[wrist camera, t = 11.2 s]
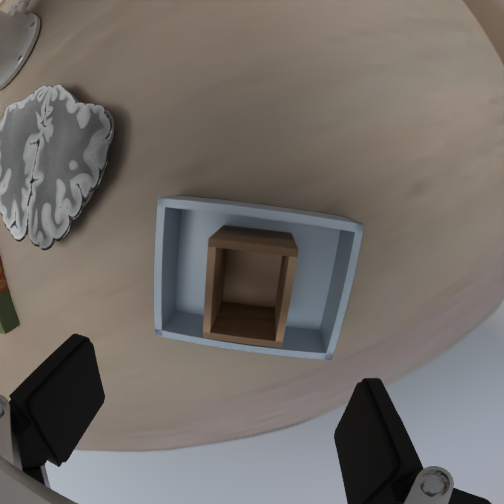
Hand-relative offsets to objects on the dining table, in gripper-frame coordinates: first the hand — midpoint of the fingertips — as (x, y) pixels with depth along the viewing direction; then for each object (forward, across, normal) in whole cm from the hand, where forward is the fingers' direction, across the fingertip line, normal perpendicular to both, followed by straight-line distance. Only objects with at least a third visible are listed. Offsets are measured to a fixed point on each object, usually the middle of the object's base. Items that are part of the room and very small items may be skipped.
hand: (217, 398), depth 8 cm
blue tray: (+16, -1, 0) cm, 16 cm away
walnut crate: (+16, -1, 0) cm, 16 cm away
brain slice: (+17, +22, -8) cm, 29 cm away
